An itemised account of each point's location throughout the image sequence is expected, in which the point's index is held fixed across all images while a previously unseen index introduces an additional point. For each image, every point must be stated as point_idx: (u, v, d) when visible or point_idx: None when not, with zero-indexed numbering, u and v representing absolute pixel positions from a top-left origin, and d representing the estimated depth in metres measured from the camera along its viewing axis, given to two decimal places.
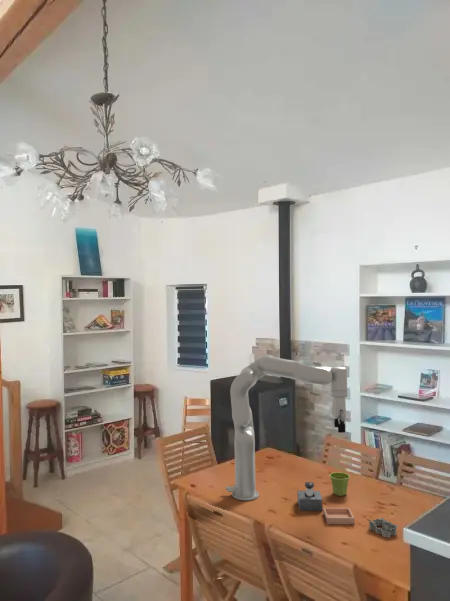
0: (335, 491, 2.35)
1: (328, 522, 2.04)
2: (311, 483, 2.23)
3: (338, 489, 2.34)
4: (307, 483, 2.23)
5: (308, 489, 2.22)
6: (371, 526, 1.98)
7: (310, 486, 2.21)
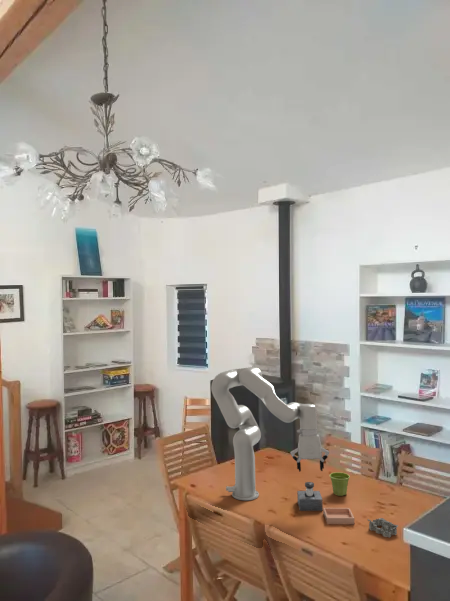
0: (335, 491, 2.35)
1: (328, 522, 2.04)
2: (311, 483, 2.23)
3: (338, 489, 2.34)
4: (307, 483, 2.23)
5: (308, 489, 2.22)
6: (371, 526, 1.98)
7: (310, 486, 2.21)
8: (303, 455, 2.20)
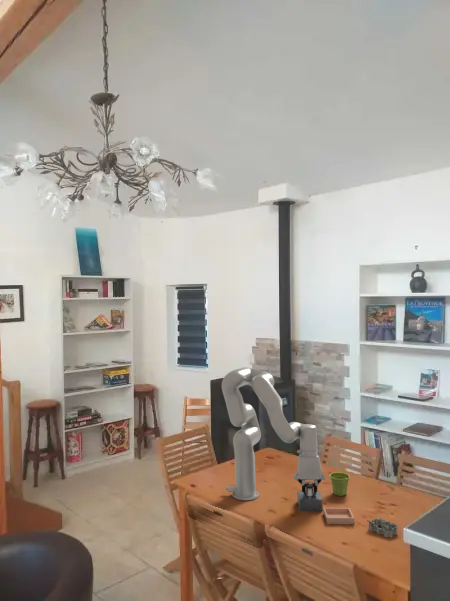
0: (335, 491, 2.35)
1: (328, 522, 2.04)
2: (311, 483, 2.23)
3: (338, 489, 2.34)
4: (307, 483, 2.23)
5: (308, 489, 2.22)
6: (371, 527, 1.98)
7: (310, 486, 2.21)
8: (302, 476, 2.20)
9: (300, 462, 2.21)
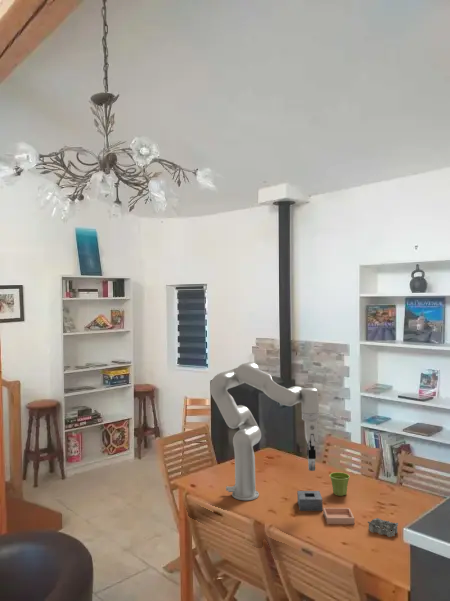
0: (335, 491, 2.35)
1: (328, 522, 2.04)
2: None
3: (338, 489, 2.34)
4: None
5: None
6: (373, 528, 1.96)
7: (315, 448, 2.22)
8: None
9: None
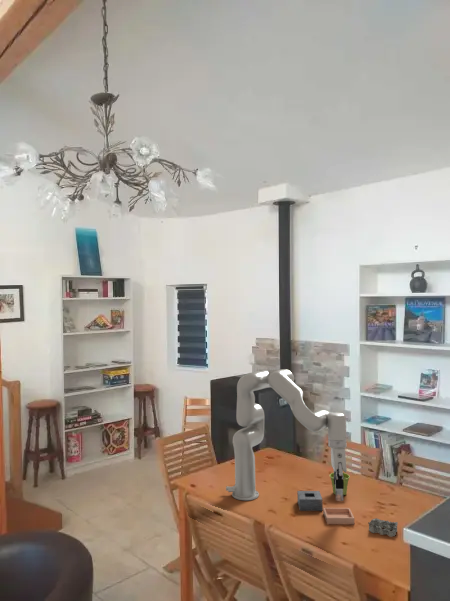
0: (335, 491, 2.35)
1: (328, 522, 2.04)
2: None
3: None
4: None
5: None
6: (373, 528, 1.96)
7: None
8: None
9: None
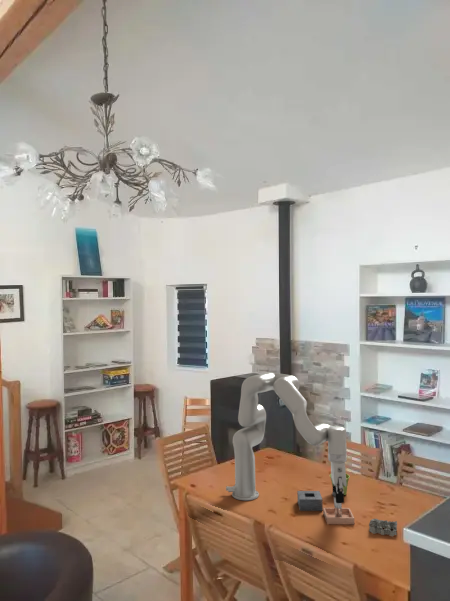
0: None
1: (328, 522, 2.04)
2: (336, 492, 2.10)
3: None
4: None
5: None
6: (375, 529, 1.95)
7: None
8: None
9: None
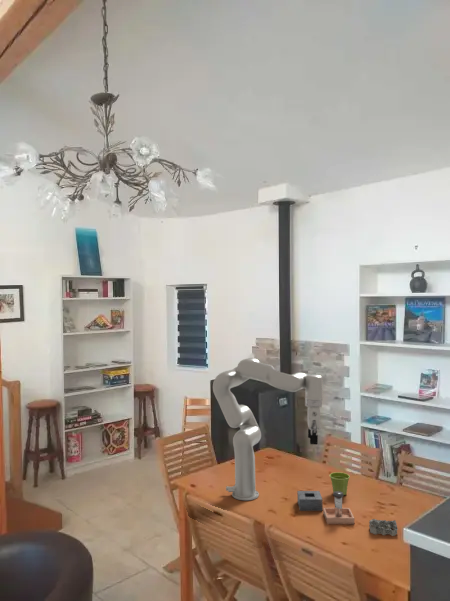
0: None
1: (328, 522, 2.04)
2: (337, 492, 2.10)
3: (338, 489, 2.34)
4: (338, 493, 2.09)
5: (341, 498, 2.09)
6: (376, 530, 1.95)
7: None
8: None
9: (319, 413, 2.17)
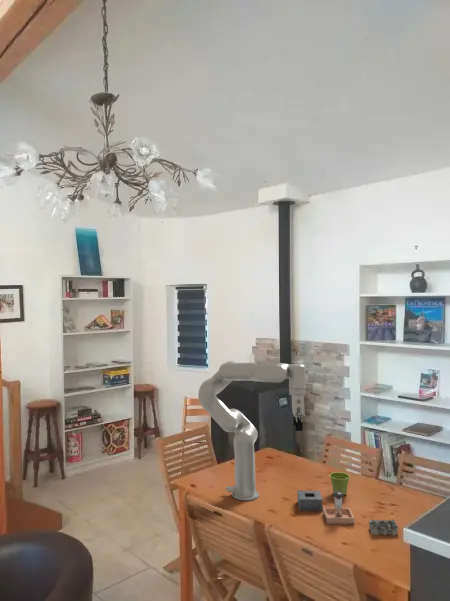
0: None
1: (328, 522, 2.04)
2: (338, 492, 2.10)
3: (338, 489, 2.34)
4: (338, 493, 2.09)
5: (341, 498, 2.09)
6: (377, 530, 1.94)
7: None
8: (304, 413, 2.27)
9: (303, 400, 2.26)
